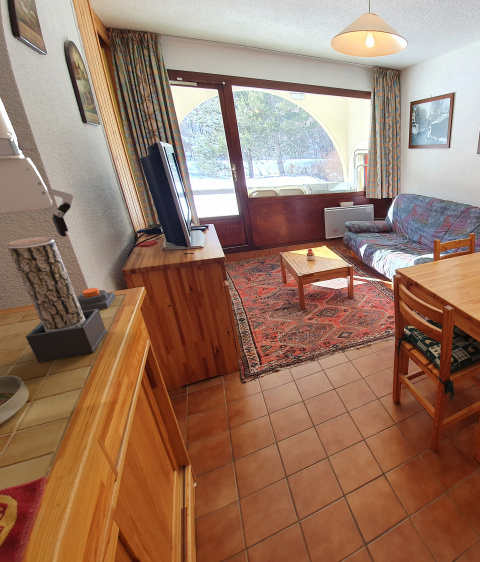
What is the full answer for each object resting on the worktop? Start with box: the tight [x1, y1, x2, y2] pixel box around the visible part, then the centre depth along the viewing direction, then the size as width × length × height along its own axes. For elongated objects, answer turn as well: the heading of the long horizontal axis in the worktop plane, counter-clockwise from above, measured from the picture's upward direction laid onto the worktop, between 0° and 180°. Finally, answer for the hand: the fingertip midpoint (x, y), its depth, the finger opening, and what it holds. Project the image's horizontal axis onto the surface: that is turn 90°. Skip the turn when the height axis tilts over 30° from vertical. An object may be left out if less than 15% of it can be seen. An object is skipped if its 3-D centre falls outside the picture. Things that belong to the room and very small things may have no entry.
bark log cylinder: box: [5, 236, 86, 332], centre depth 68 cm, size 7×7×25 cm
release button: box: [81, 287, 100, 298], centre depth 91 cm, size 4×4×2 cm
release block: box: [76, 289, 117, 311], centre depth 92 cm, size 8×8×4 cm
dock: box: [25, 309, 107, 364], centre depth 72 cm, size 10×10×7 cm
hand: (31, 240), depth 63 cm, fingers open, 9 cm apart
